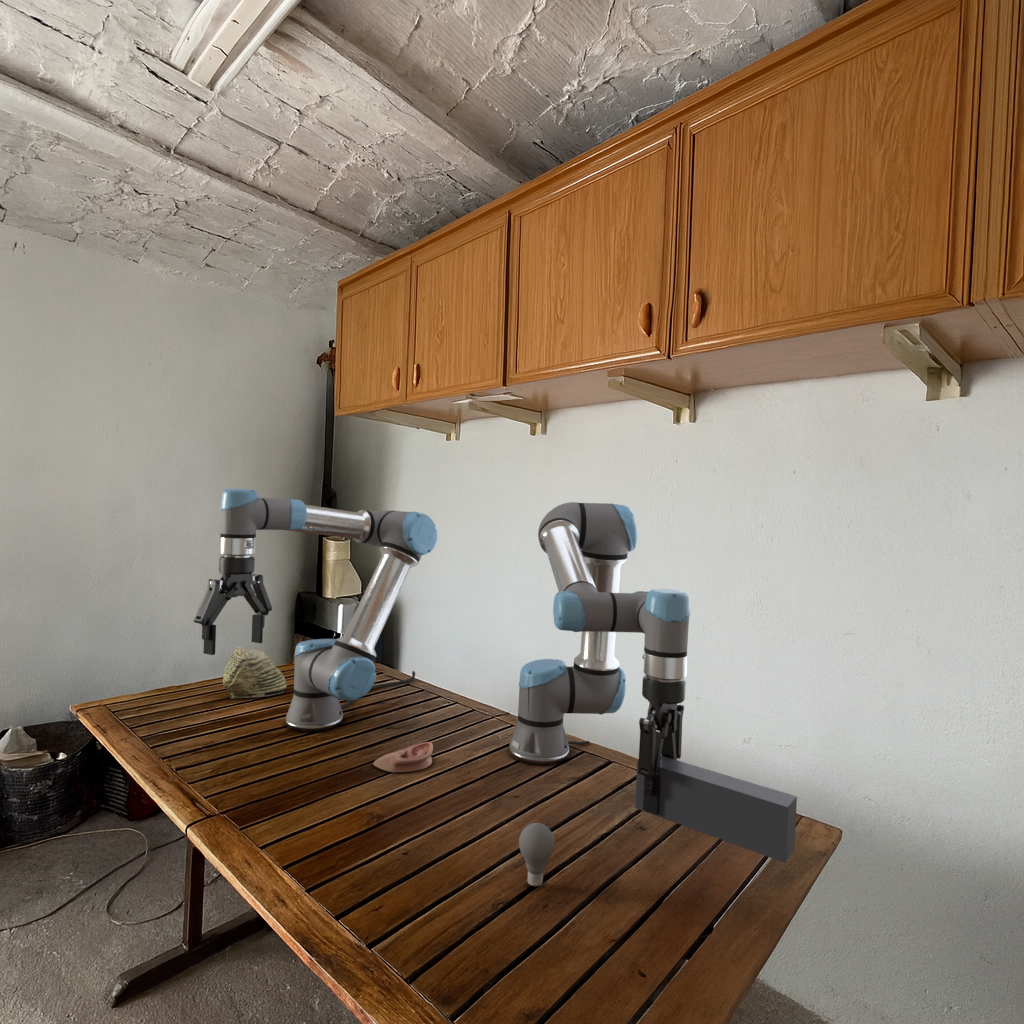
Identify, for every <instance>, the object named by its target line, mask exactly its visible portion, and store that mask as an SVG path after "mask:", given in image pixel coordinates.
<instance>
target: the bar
mask: <svg viewBox="0 0 1024 1024" xmlns="http://www.w3.org/2000/svg"><path fill="white" fill-rule="evenodd" d="M638 762H639V758H638V759H637V760H636V779H635V781H636V782H635V799H634V801H635V802H634V809H637V810H639V811H642V812H645V813H647V814H650V815H653V816H656V817H657V818H661V819H663V820H667V821H669V822H672V823H675V824H678V825H680V826H683V827H686V828H689V829H691V830H694V831H696V832H699V833H702V834H704V835H705V834H706V835H708V836H710V837H713V838H716V839H718V840H721V841H723V842H726V843H729V844H732V845H735V846H738V847H740V848H742V849H746V850H748V851H751V852H754V853H756V854H759V855H762V856H765V857H768V858H770V859H772V860H775V861H778V862H781V863H784V864H786V863H787V862H788V860H789V859H790V857H791V856H792V854H793V853H794V851H795V847H796V825H797V823H796V822H797V803H798V796H797V795H794V794H791V793H787V792H783V791H780V790H777V789H774V788H770V787H767V786H764V785H761V784H757V783H754V782H751V781H747V780H743V779H742V778H741V779H740V778H738V777H734V776H730V775H727V774H724V773H720V772H717V771H715V770H711V769H707V768H704V767H700V766H698V765H694V764H692V763H691V764H690V763H687V762H684V761H681V760H679V759H677V760H674V759H671V758H668V757H664V756H662V755H661V760H660V766H659V773H658V776H660V777H661V779H660V801H659V814H658V815H655V814H652V813H650V812H647V811H644V810H643V797H644V775H641V774H638Z"/></svg>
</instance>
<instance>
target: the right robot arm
mask: <svg viewBox="0 0 1024 1024" xmlns="http://www.w3.org/2000/svg"><path fill="white" fill-rule="evenodd" d="M537 538H538V542H539V546H540V548H541V549H542V551H543V552H544V553H545V554H546V555H547V557H548V561H549V565H550V567H551V571H552V574H553V577H554V581H555V584H556V588H557V591H558V592H556V593H555V595H554V599H553V603H552V617H553V623H554V626H555V627H556V628H557V630H560V631H565V632H566V631H567V632H573V633H581V637H580V639H581V640H580V653H579V654H577V655H576V656H574V659H573V665H572V666H567V664H566V662H565V661H564V660H562V659H557V658H555V659H554V658H541V659H535V660H531V661H530V662H527V663H525V664H524V665H523V666H522V667H521V669H520V674H519V680H518V705H517V706H518V709H517V722H516V725H515V728H514V731H513V734H512V736H511V739H510V742H509V750H508V751H509V754H510V756H511V757H512V758H513V759H516V760H518V761H520V762H523V763H526V764H531V765H536V766H537V765H540V766H544V765H545V766H547V765H555V764H560V763H562V762H564V761H566V760H567V759H569V756H570V746H569V745H578V746H579V745H580V746H582V745H588V744H590V741H589V740H586V741H574V740H573V741H571V740H570V741H569V740H568V738H567V733H566V730H565V726H564V716H565V714H581V715H582V714H583V715H586V714H587V715H601V716H602V715H604V714H615V713H617V712H618V711H619V710H620V709H621V708H622V705H623V703H624V700H625V697H626V692H627V691H626V690H627V684H626V680H627V679H626V678H627V677H626V673H625V670H624V669H623V668H622V667H620V662H619V660H618V659H617V658H616V657H615V647H616V646H615V645H616V633H638V634H639V633H640V634H644V642H643V643H644V646H643V647H644V648H643V654H642V656H641V657H642V660H643V674H644V675H643V676H642V685H641V687H642V689H641V695H642V696H643V698H644V699H645V700H647V701H648V703H649V704H648V709H647V716H646V717H645V718H644V717H640V718H639V721H638V726H639V746H638V759H639V762H638V774H641V775H644V797H643V810H644V811H643V812H645V811H647V812H650V813H652V814H651V815H653V814H655V815H654V816H656V815H658V814H659V801H660V779H661V777H660V776H658V773H659V766H660V760H661V756H664V757H668V758H671V759H674V760H680V759H681V758H682V745H683V744H682V742H683V741H682V740H683V719H684V717H683V716H684V713H685V706H684V704H682V703H683V702H685V700H686V691H687V690H686V688H687V682H686V681H685V678H687V675H688V673H687V672H688V644H689V643H688V642H689V626H690V625H689V624H690V616H691V611H690V597H689V595H688V594H687V592H685V591H682V590H676V589H671V588H669V589H668V588H653V589H650V590H649V591H644V590H637V591H634V592H619V591H620V579H621V578H620V577H621V566H622V565H623V564H624V563H625V562H626V561H627V560H628V554H629V553H631V552H634V550H636V548H637V544H638V527H637V522H636V518H635V515H634V513H633V511H632V509H631V508H630V507H629V506H628V505H624V504H619V503H607V502H606V503H605V502H604V503H602V502H601V503H600V502H599V503H597V502H576V501H570V502H564V503H561V504H559V505H557V506H555V507H553V508H552V509H551V510H550V511H548V512H547V513H546V514H545V516H544V517H543V518H542V519H541V521H540V523H539V528H538V531H537ZM647 812H646V813H647ZM650 813H649V814H650Z"/></svg>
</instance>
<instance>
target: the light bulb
mask: <svg viewBox="0 0 1024 1024" xmlns="http://www.w3.org/2000/svg"><path fill="white" fill-rule="evenodd" d="M555 845H556V841H555V836H554V835H553V832H552V831H551V829H550V828H549V827H548V826H546V824H544V823H541V822H533V823H530V824H528V825H526V826H525V827H524V828H523V830H522V831H521V833H520V835H519V837H518V846H519V847H518V848H519V851H520V853H521V855H522V857H523V859H524V861H525V867H526V870H527V880H526V881H527V883H528V884H529V885H530V886H531V887H532V886H533V887H540V886H542V885H543V883H544V882H543V881H544V872H545V870H546V866H547V863H548V861H549V860H550V858H551V856H552V855H553V853H554V850H555Z"/></svg>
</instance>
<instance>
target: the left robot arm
mask: <svg viewBox="0 0 1024 1024" xmlns="http://www.w3.org/2000/svg"><path fill="white" fill-rule="evenodd" d="M219 509H220V533H219V534H220V535H219V536H220V537H219V554H220V555H221V556H220V557H219V558H218V573H220V578H219V579H215V578H208V580H207V584H206V585H207V586H206V590H205V593H204V595H203V597H202V599H201V602H200V604H199V607H198V609H197V611H196V613H195V616H194V618H193V623H195V624H199V625H201V640H203V651H202V652H203V654H204V655H208V656H209V655H210V656H214V655H216V645H217V644H216V643H217V641H216V640H217V639H216V638H217V624H214V623H215V621H216V620H217V618H218V617H219V615H220V614H221V613H222V611H223V609H224V607H226V604H227V603H228V601H230V600H232V598H238V597H244V599H245V601H246V603H248V605H249V607H250V608H251V609H252V610H253V612H254V613H255V614H252V616H251V643H255V644H263V635H264V628H265V621H266V619H265V618H266V616H269V614H270V612H272V610H273V606H272V603H271V600H270V598H269V595H268V592H267V589H266V587H265V584H264V575H263V574H257V573H254V572H255V569H256V567H255V565H256V558H255V557H254V555H255V554H256V537H257V531H267V530H268V531H269V530H271V531H289V532H296V533H304V534H305V533H306V534H312V535H313V534H314V535H323V536H331V537H337V538H346V539H352V540H353V541H354V542H356V543H359V544H366V545H369V546H370V545H371V546H374V547H377V548H379V550H380V553H381V557H380V559H379V562H378V564H377V565H376V568H375V570H374V572H373V573H372V576H371V577H370V578H371V579H370V581H369V583H368V585H367V587H366V589H365V591H364V593H363V595H362V596H361V599H360V602H359V604H358V606H357V608H356V610H355V612H354V614H353V617H352V619H351V621H350V622H349V625H348V627H347V629H346V631H345V633H344V635H342V636H341V637H338V638H319V639H308V640H303V641H300V642H299V643H298V642H297V644H296V646H295V650H294V655H293V657H294V672H293V695H292V696H293V697H292V699H291V702H290V704H289V708H288V711H287V713H286V715H285V726H286V728H287V729H289V730H291V731H294V732H295V731H296V732H301V733H316V732H325V731H329V730H332V729H335V728H337V727H339V726H340V725H342V723H343V722H344V713H343V709H345V708H347V707H349V706H351V704H352V703H353V702H355V701H357V700H359V699H361V698H363V697H364V696H366V695H367V694H368V693H369V692H370V691H372V690H377V689H381V688H386V687H392V686H396V685H397V686H398V685H402V684H403V685H404V684H408V683H411V682H413V681H414V680H415V678H416V671H414V670H412V671H411V677H410V678H409V679H405V680H404V679H403V680H399V681H393V682H388V683H381V684H377V685H374V684H375V682H376V679H377V671H376V665H375V664H374V663H375V661H376V658H377V652H376V650H375V647H376V645H377V643H378V640H379V638H380V635H381V633H382V631H383V629H384V627H385V625H386V623H387V621H388V618H389V616H390V614H391V611H392V609H393V607H394V605H395V602H396V601H397V598H398V596H399V594H400V592H401V589H402V587H403V585H404V583H405V581H406V578H407V577H408V574H409V572H410V569H411V568H414V567H416V566H418V565H419V562H420V560H421V559H422V557H423V556H425V555H428V554H429V553H431V552H432V551H433V550H434V549H435V547H436V544H437V541H438V530H437V528H436V524H435V522H434V520H433V519H432V518H431V517H430V516H429V515H427V514H426V513H422V512H418V511H404V510H403V511H401V510H366V509H360V510H358V511H357V512H355V511H349V510H343V509H336V508H330V507H323V506H317V505H311V504H305V503H304V501H302V500H301V499H296V498H295V499H294V498H293V499H292V498H276V497H275V498H273V497H259V496H258V491H257V490H256V489H250V488H249V489H248V488H247V489H246V488H226V489H224V490H223V491H222V494H221V501H220V508H219ZM340 700H342V701H345V702H346V703H344V704H341V702H340Z"/></svg>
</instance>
